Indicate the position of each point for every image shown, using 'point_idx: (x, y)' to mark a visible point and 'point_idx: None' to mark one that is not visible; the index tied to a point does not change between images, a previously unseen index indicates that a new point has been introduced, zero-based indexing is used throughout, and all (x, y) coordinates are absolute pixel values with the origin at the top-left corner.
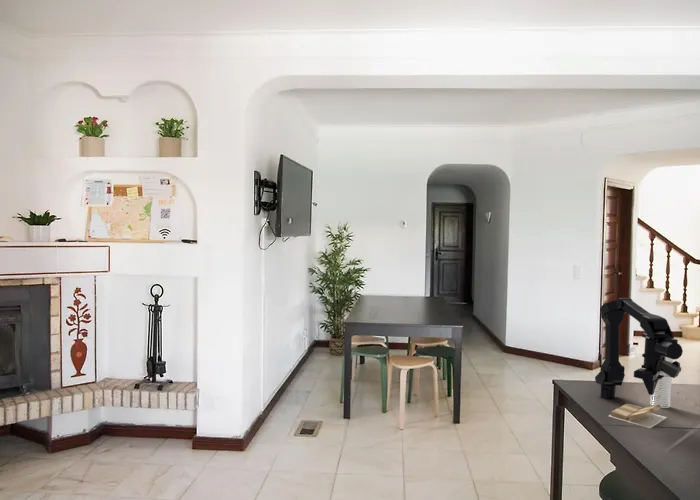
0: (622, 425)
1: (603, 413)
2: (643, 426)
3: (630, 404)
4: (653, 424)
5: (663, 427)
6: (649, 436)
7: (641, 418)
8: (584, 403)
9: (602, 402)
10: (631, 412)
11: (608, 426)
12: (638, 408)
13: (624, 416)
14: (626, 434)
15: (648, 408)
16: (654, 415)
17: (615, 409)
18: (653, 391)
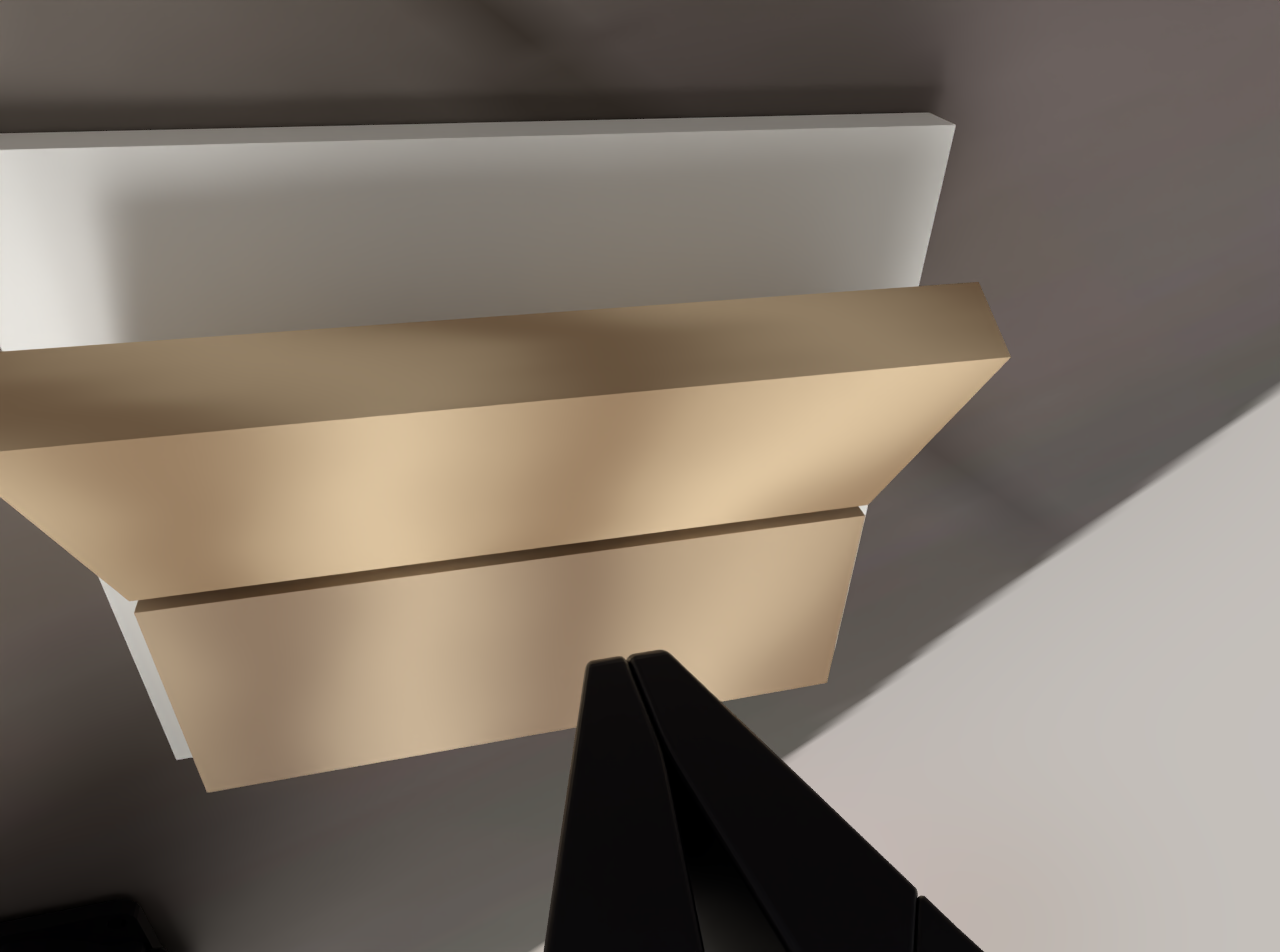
0: (942, 441)
1: None
2: (928, 233)
3: (200, 753)
4: (707, 162)
5: (524, 11)
6: (1174, 23)
7: None
8: (515, 927)
9: (267, 915)
10: (619, 566)
11: (1081, 501)
12: (275, 616)
13: (854, 534)
14: (1248, 271)
15: (444, 467)
16: None
17: None
18: (654, 741)
